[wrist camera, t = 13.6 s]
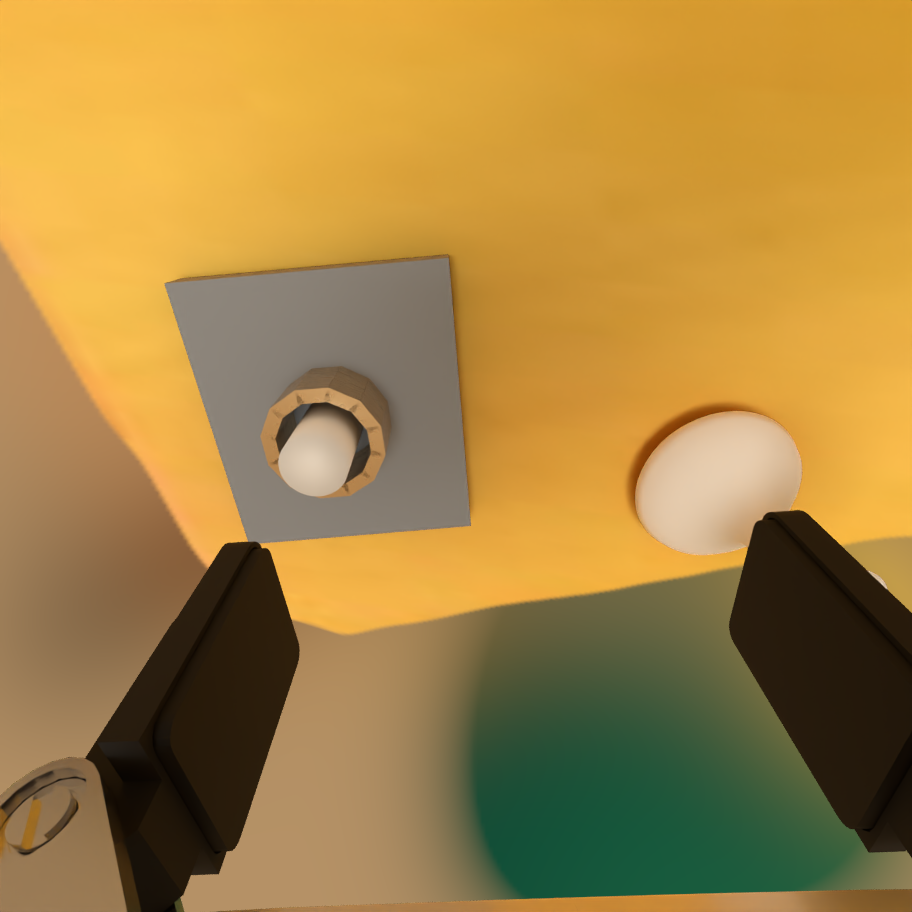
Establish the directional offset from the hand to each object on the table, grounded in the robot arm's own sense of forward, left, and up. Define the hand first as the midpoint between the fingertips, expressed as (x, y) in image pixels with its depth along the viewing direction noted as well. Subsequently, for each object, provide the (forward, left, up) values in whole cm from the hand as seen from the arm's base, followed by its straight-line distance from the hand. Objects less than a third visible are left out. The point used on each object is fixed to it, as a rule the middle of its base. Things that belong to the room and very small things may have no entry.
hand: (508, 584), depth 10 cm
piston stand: (+5, -9, -24) cm, 26 cm away
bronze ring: (+5, -8, -22) cm, 24 cm away
